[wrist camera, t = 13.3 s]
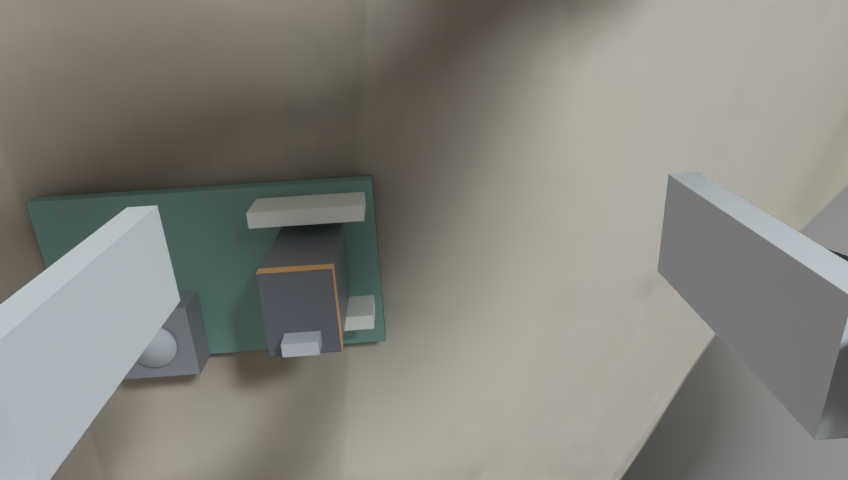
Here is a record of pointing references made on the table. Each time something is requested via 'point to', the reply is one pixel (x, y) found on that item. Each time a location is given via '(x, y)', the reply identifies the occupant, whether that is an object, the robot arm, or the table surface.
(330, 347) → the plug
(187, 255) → the board
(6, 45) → the table surface
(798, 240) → the robot arm
